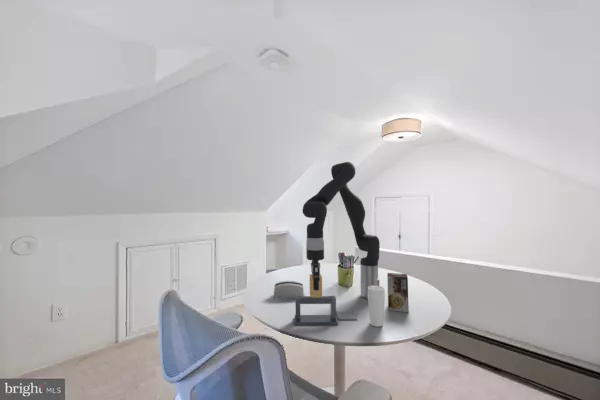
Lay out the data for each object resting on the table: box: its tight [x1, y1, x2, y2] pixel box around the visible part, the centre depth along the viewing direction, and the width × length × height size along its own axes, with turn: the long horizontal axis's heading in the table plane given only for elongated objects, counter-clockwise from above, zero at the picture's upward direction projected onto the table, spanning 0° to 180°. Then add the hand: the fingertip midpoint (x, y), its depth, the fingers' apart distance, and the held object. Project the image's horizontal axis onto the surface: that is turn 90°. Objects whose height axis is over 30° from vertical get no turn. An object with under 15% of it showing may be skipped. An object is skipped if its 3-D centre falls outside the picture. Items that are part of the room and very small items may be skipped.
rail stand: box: [293, 295, 339, 326], centre depth 109 cm, size 18×7×10 cm, turn 90°
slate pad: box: [336, 310, 358, 321], centre depth 114 cm, size 8×8×1 cm
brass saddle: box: [309, 273, 323, 298], centre depth 110 cm, size 5×5×8 cm
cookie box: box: [386, 272, 410, 313], centre depth 122 cm, size 9×6×16 cm
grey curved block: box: [273, 280, 305, 299], centre depth 139 cm, size 17×5×10 cm, turn 90°
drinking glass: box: [367, 285, 386, 328], centre depth 106 cm, size 7×7×15 cm
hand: (315, 287), depth 110 cm, fingers closed on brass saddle, 5 cm apart
